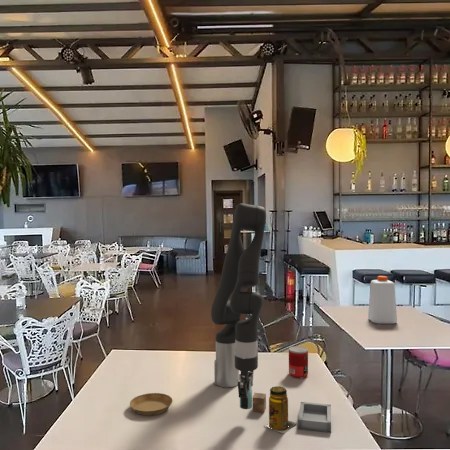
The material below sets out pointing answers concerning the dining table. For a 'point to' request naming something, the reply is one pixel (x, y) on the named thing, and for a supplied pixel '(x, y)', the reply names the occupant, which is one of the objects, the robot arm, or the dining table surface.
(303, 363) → the canned food
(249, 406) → the teal cylinder
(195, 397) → the dining table surface
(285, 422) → the condiment
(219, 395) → the dining table surface
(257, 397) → the walnut block
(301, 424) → the collection tray
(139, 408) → the plant saucer
